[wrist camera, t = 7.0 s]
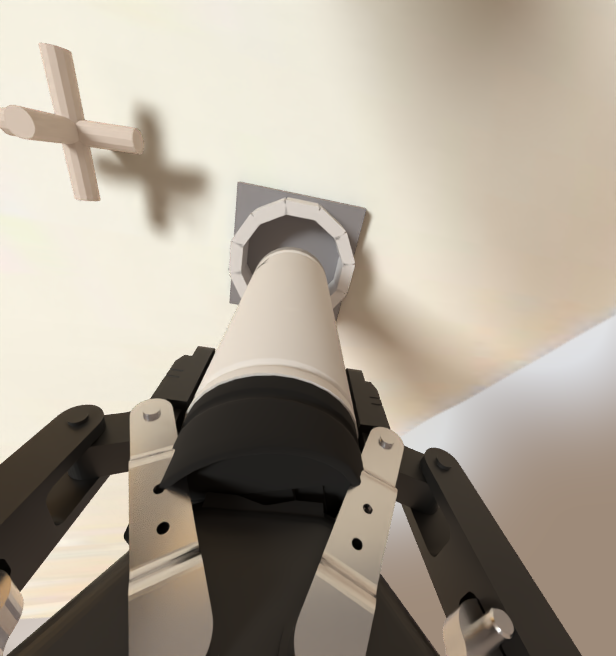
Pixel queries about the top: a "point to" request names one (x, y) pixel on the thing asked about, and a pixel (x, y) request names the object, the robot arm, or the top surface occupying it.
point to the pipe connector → (69, 124)
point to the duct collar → (293, 235)
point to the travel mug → (273, 398)
